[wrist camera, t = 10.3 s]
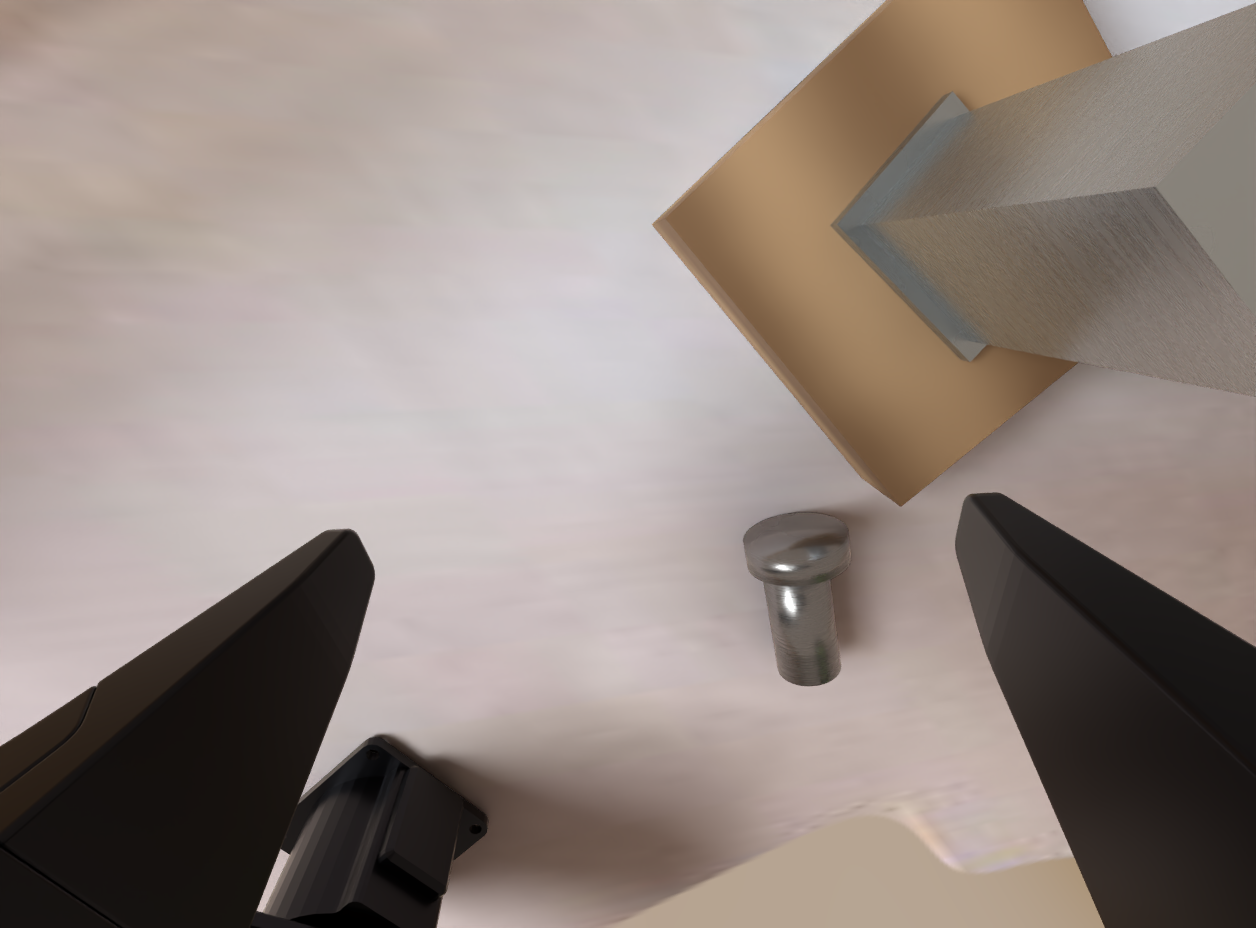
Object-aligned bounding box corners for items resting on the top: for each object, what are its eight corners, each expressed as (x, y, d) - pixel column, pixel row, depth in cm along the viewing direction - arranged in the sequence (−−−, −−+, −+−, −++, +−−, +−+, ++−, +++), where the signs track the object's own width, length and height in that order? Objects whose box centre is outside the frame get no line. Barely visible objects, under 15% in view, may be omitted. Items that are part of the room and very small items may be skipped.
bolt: (840, 637, 26) (882, 694, 23) (755, 658, 26) (784, 718, 23) (824, 504, 24) (866, 544, 21) (732, 526, 24) (759, 569, 21)
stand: (861, 477, 24) (900, 506, 21) (651, 224, 21) (665, 218, 18) (1132, 253, 22) (1214, 251, 19) (951, -63, 19) (1019, -120, 16)
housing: (960, 359, 20) (1321, 449, 10) (829, 225, 18) (1113, 184, 9) (1069, 245, 19) (1567, 228, 10) (942, 95, 17) (1386, -104, 8)
